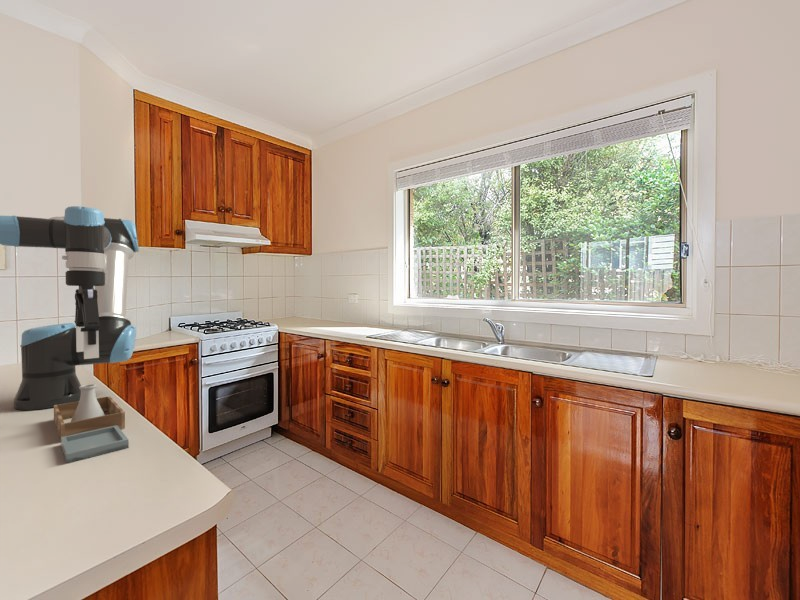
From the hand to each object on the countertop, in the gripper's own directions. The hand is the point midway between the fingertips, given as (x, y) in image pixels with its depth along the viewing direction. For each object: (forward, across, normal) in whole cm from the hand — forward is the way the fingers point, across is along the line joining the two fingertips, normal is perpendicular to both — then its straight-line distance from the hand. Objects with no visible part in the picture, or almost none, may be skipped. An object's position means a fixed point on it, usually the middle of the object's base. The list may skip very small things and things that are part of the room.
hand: (87, 354), depth 93 cm
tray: (+18, +17, -1) cm, 25 cm away
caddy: (+18, 0, 0) cm, 18 cm away
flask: (+18, 0, 0) cm, 18 cm away
